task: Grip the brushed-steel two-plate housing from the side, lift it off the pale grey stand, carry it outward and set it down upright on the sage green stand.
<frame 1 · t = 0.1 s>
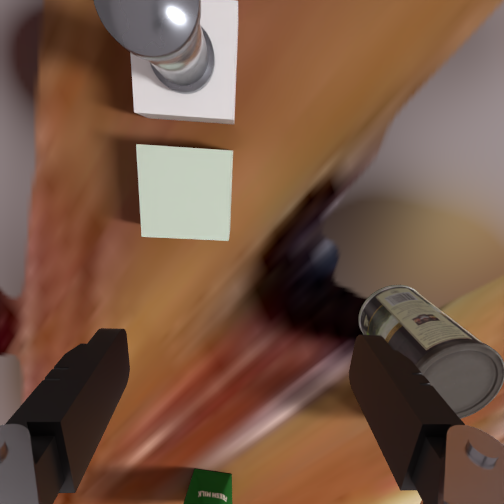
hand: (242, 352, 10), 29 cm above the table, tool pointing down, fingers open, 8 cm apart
stand b: (192, 189, 37), on the table
milk carton: (209, 482, 54), on the table
housing: (183, 59, 28), point 5 cm above the table, touching stand a
stand a: (191, 72, 33), on the table
coffee can: (390, 314, 44), on the table
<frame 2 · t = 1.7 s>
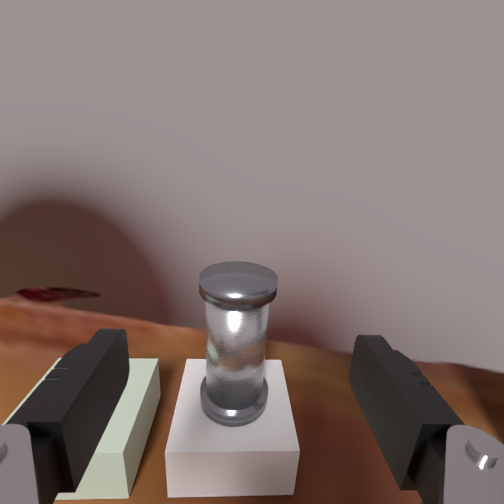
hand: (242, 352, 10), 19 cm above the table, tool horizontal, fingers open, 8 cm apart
stand b: (92, 438, 27), on the table
housing: (234, 397, 26), point 5 cm above the table, touching stand a
stand a: (232, 437, 28), on the table
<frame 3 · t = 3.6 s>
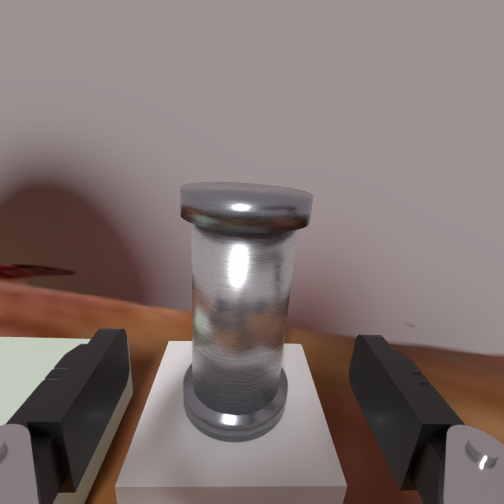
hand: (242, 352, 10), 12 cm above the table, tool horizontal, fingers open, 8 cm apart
stand b: (23, 455, 18), on the table
housing: (235, 394, 17), point 5 cm above the table, touching stand a
stand a: (232, 455, 19), on the table
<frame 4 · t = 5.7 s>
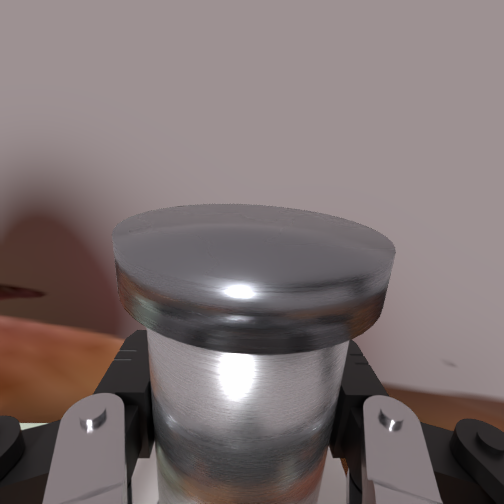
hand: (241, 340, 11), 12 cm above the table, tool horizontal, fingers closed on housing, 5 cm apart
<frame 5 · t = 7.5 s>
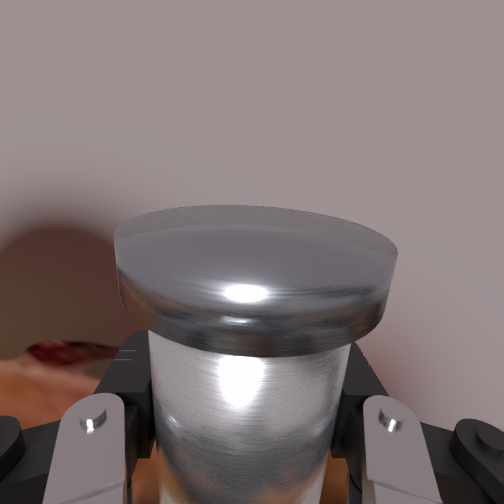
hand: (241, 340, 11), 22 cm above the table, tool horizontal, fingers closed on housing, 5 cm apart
when the fingers open (13 cm above the table, at t = 9.8 s): housing drops 1 cm, resting on stand b.
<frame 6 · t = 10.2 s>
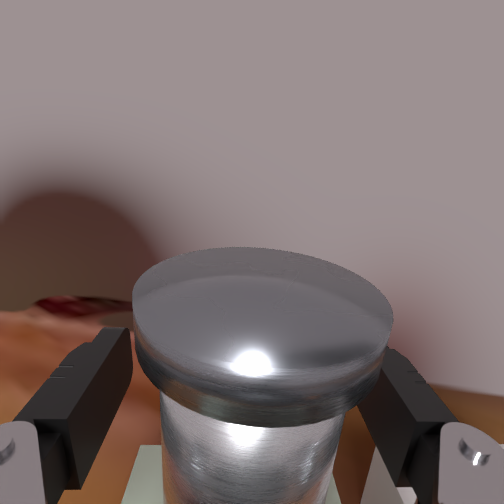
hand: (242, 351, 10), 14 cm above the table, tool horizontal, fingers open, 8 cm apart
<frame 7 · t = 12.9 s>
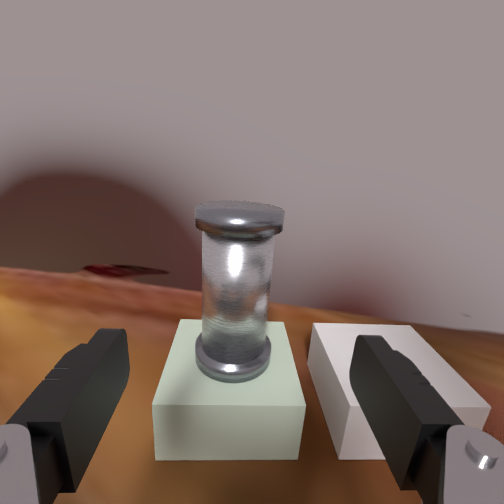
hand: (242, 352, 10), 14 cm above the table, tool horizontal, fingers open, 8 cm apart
stand b: (229, 402, 25), on the table
housing: (233, 355, 23), point 5 cm above the table, touching stand b
stand a: (374, 403, 26), on the table
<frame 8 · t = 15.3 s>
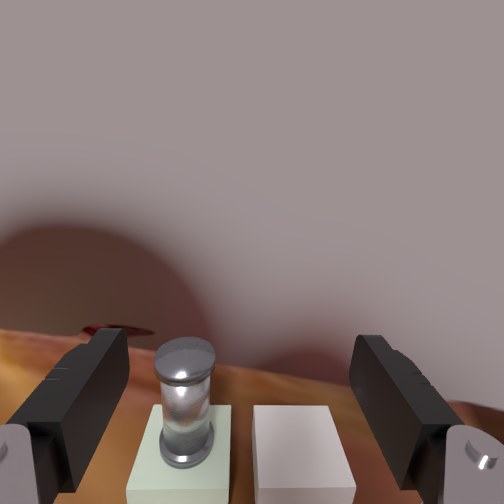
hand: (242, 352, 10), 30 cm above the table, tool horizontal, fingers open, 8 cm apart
stand b: (187, 471, 35), on the table
housing: (187, 442, 33), point 5 cm above the table, touching stand b
stand a: (294, 470, 36), on the table
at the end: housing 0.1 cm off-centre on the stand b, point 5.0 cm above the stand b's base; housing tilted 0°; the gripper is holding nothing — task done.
